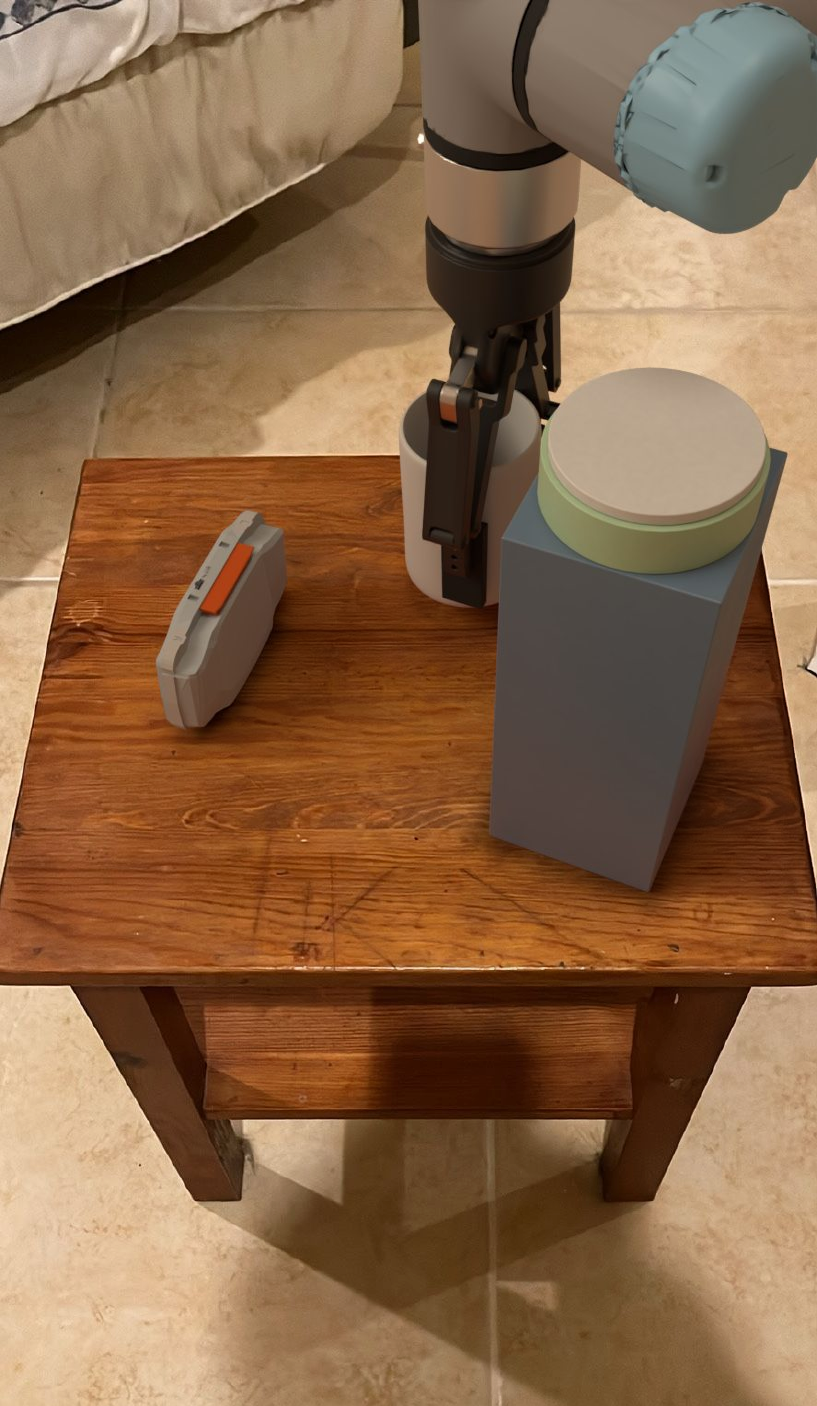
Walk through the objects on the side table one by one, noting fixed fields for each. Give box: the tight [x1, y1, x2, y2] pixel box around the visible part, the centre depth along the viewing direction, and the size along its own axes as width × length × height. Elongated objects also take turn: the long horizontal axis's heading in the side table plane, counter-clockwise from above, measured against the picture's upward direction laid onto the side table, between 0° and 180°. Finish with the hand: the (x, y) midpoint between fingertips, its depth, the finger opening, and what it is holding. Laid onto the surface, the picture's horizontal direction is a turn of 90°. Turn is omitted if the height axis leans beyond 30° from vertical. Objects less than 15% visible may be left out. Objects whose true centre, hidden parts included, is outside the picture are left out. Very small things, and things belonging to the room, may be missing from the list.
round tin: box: [537, 367, 771, 574], centre depth 57 cm, size 10×10×3 cm
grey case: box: [155, 509, 288, 731], centre depth 82 cm, size 14×3×8 cm, turn 160°
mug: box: [398, 389, 542, 609], centre depth 81 cm, size 12×8×11 cm
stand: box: [488, 447, 788, 893], centre depth 68 cm, size 10×10×24 cm
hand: (492, 550), depth 84 cm, fingers closed on mug, 8 cm apart
